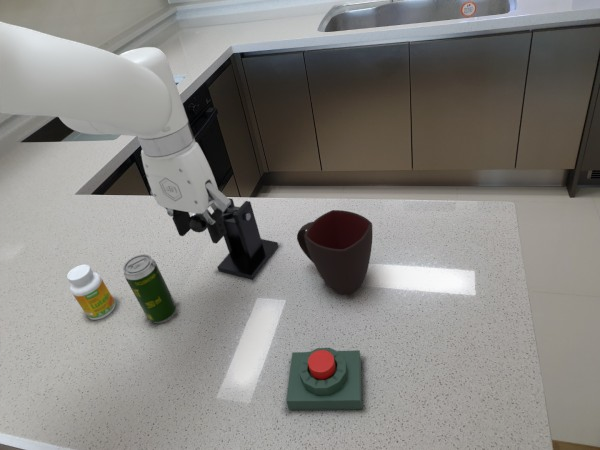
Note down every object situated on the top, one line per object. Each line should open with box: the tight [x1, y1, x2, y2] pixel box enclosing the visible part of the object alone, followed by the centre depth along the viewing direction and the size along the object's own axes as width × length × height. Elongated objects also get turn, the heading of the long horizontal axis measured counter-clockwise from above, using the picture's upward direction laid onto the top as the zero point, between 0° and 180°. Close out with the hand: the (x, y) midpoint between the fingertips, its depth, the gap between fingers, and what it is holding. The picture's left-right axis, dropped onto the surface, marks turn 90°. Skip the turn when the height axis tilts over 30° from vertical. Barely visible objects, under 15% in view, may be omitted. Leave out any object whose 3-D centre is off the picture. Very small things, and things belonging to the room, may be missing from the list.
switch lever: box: [189, 205, 241, 233], centre depth 80 cm, size 13×3×3 cm, turn 153°
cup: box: [296, 209, 374, 296], centre depth 79 cm, size 10×14×12 cm
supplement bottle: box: [66, 264, 116, 321], centre depth 84 cm, size 5×5×10 cm
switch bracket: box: [217, 197, 279, 281], centre depth 87 cm, size 10×8×13 cm
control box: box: [285, 347, 363, 411], centre depth 64 cm, size 10×8×4 cm
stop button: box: [308, 350, 336, 380], centre depth 63 cm, size 4×4×2 cm
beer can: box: [122, 253, 177, 324], centre depth 79 cm, size 5×5×12 cm
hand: (202, 233), depth 77 cm, fingers open, 6 cm apart
